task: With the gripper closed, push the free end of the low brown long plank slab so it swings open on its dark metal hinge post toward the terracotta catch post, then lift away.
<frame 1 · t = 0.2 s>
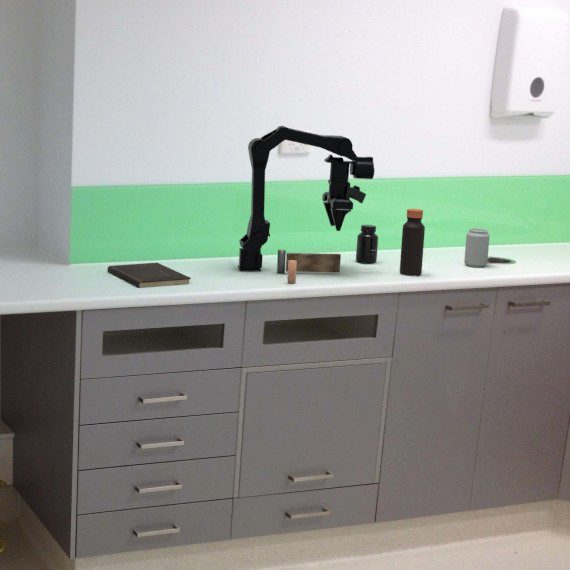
hand: (335, 228, 329), 13 cm above the countertop, tool pointing down, fingers open, 9 cm apart
hardcover book: (148, 280, 309), on the countertop
supplement bottle: (366, 262, 348), on the countertop
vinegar: (410, 274, 332), on the countertop
can: (475, 266, 351), on the countertop
hinge post: (280, 273, 324), on the countertop
brown long plank slab: (313, 262, 325), point 3 cm above the countertop, hinge at 0.0°
catch post: (291, 282, 311), on the countertop
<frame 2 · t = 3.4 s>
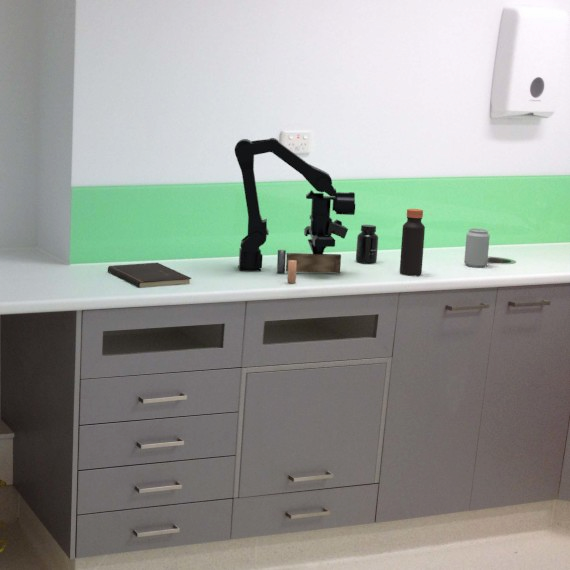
hand: (318, 263, 327), 3 cm above the countertop, tool pointing down, fingers closed
brown long plank slab: (313, 263, 324), point 3 cm above the countertop, hinge at 2.2°, touching gripper
everything else where it was.
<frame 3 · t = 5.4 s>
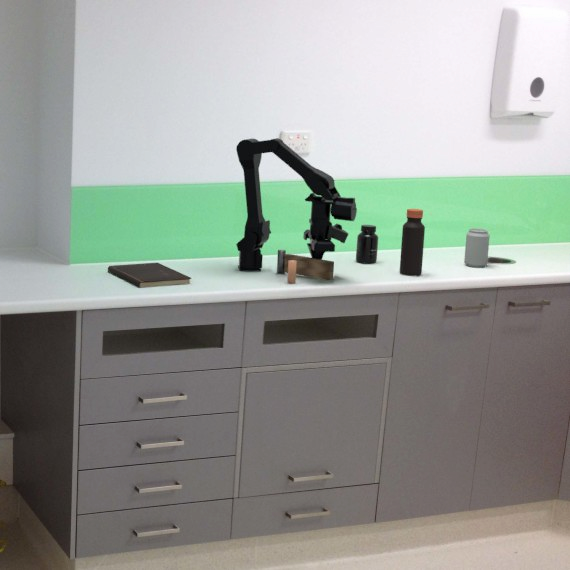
hand: (317, 268, 320), 3 cm above the countertop, tool pointing down, fingers closed
brown long plank slab: (308, 267, 318), point 3 cm above the countertop, hinge at 42.6°, touching gripper
everything else where it was.
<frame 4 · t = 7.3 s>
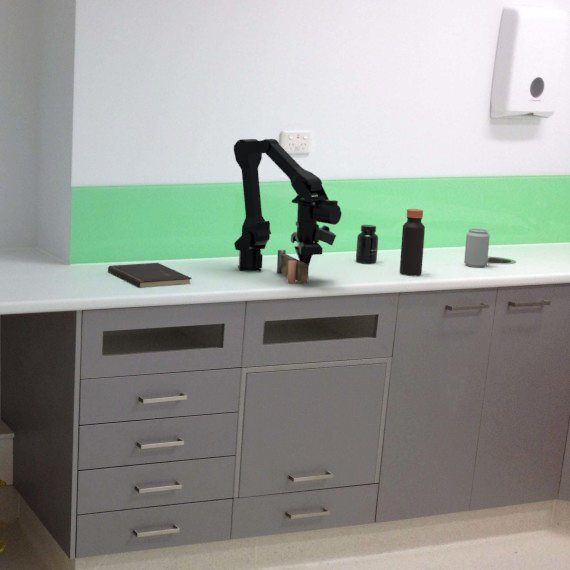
hand: (305, 271, 315), 3 cm above the countertop, tool pointing down, fingers closed
brown long plank slab: (294, 268, 314), point 3 cm above the countertop, hinge at 75.7°, touching gripper
everything else where it was.
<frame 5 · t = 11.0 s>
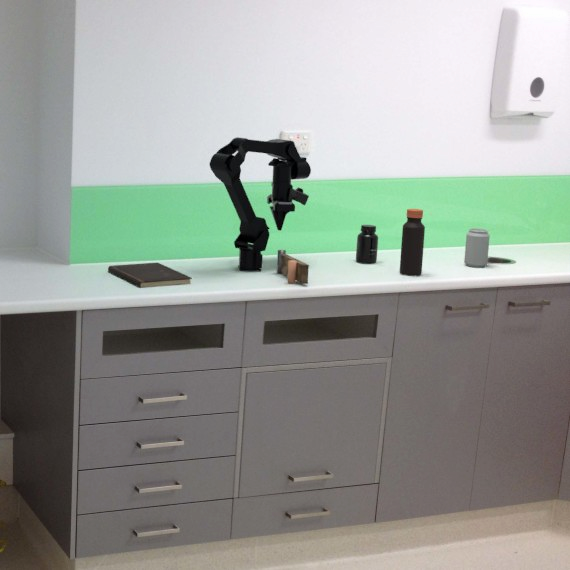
hand: (279, 230, 334), 11 cm above the countertop, tool pointing down, fingers closed
brown long plank slab: (294, 268, 314), point 3 cm above the countertop, hinge at 75.8°
everything else where it was.
at the end: brown long plank slab at +76° (first picture: +0°); supplement bottle moved 0.2 cm from its start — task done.
